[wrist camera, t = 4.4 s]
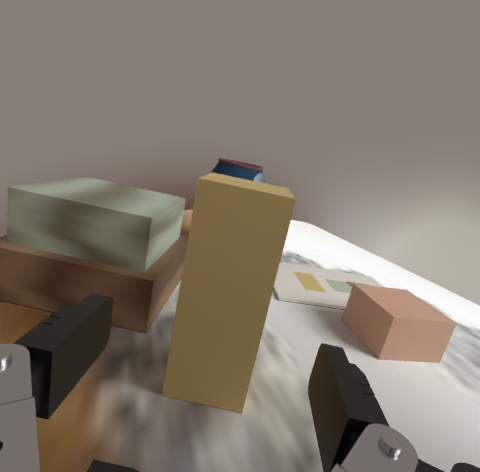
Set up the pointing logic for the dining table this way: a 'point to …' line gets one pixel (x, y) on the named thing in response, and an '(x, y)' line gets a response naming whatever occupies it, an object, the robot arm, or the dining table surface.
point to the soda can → (239, 170)
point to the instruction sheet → (316, 285)
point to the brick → (397, 324)
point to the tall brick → (225, 289)
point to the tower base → (88, 279)
